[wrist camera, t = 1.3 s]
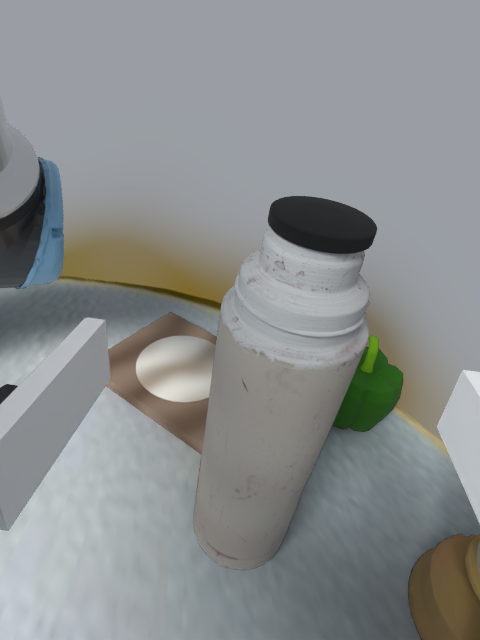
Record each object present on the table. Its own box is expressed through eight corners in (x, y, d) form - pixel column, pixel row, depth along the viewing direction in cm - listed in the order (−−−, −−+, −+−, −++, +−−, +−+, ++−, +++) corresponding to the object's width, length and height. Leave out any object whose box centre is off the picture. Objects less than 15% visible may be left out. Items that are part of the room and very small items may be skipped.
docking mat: (87, 372, 45) (85, 361, 44) (170, 320, 55) (170, 310, 54) (202, 454, 39) (203, 444, 38) (273, 378, 49) (275, 369, 48)
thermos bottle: (173, 523, 33) (197, 199, 17) (232, 462, 39) (294, 172, 22) (247, 594, 30) (370, 275, 13) (301, 516, 35) (435, 221, 19)
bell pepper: (365, 458, 41) (401, 392, 35) (298, 415, 45) (321, 348, 39) (392, 412, 47) (427, 350, 41) (331, 377, 50) (355, 315, 45)
